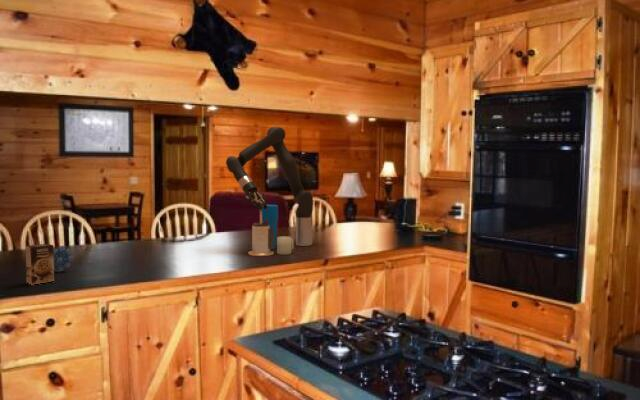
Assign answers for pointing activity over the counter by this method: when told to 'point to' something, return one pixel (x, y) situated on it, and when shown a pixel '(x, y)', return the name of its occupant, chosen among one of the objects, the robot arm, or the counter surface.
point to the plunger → (261, 210)
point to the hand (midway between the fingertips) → (263, 208)
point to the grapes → (61, 258)
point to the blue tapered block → (271, 219)
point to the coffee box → (39, 264)
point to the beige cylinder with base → (262, 240)
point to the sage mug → (284, 245)
